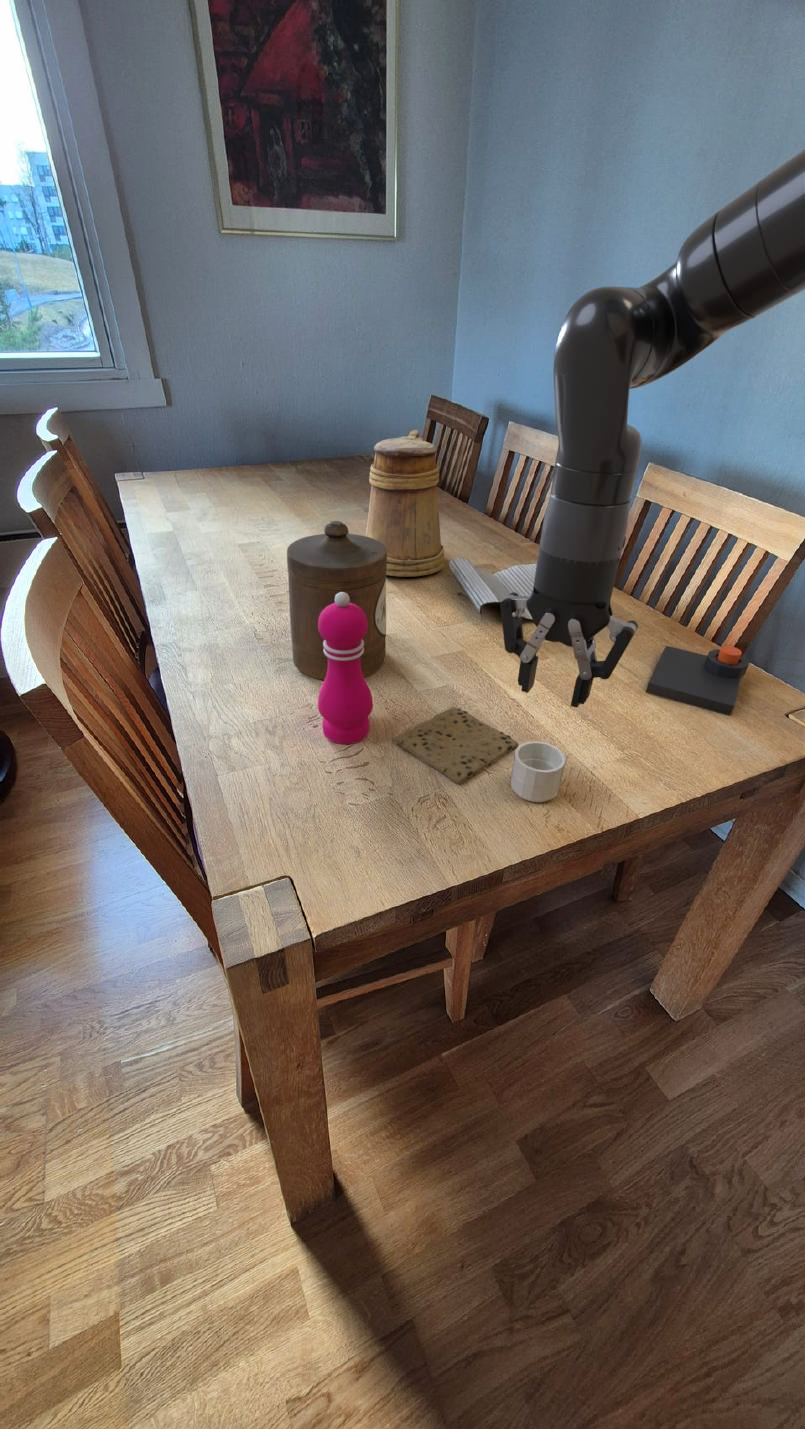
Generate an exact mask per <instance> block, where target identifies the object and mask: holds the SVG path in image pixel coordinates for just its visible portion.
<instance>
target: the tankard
mask: <svg viewBox="0 0 805 1429" xmlns="http://www.w3.org/2000/svg"><path fill="white" fill-rule="evenodd" d="M437 450H438V449H437V447H436V446H435V445H434V444H433V443H431V442H428V441H427V439H425V438H424V437H420V431H419V430H418V429H412V430H410V432H409V434H408V435H407V436H403V435H402V436H399V437H393V438H386V439H383V440H380V441H378V442H377V443H376V444H375V445H374V447H373V451H374V452H375V453H374V460H373V463H372V464H371V465H370V471H369V478H368V483H369V484H370V485H371V486H370V496H369V505H368V514H367V521H366V522H367V523H366V530H365V536H366V537H370V538H373V539H375V540H377V541H379V542H381V543H382V544H383V545H384V546H385V547H386V549H387V570H386V576H391V577H399V578H400V577H401V578H402V577H403V578H405V577H406V578H409V577H410V578H411V577H422V576H428V575H432V574H435V573H437V572H440V571H441V570H443V569H444V568H445V554H444V553H445V546H444V545H442V539H441V526H440V524H441V523H440V508H439V506H440V505H439V492H438V484H439V483H440V470H439V466H438V465H437V462H436V461H437V460H436V453H437Z"/></svg>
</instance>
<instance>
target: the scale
mask: <svg viewBox="0 0 805 1429" xmlns="http://www.w3.org/2000/svg"><path fill="white" fill-rule="evenodd" d="M720 649H721V648H720ZM720 649H719V648H716V649H715V648H714V649H713V650H710V651H708V653H707V654H702V653H698V652H694V651H691V650H687V649H683V648H679V647H674V646H670V645H665V646H664V648H663V650H662V652H661V655H660V656H659V659H658V661H657V663H656V665H655V667H654V670H653V672H652V674H651V676H650V678H649V680H648V683H647V685H646V689H645V693H647V694H650V695H654V696H657V697H662V698H665V699H669V700H672V701H676V702H680V703H682V704H683V703H684V704H686V705H690V706H694V707H697V708H702V709H706V710H709V711H712V712H716V713H720V714H723V715H727V716H732V713H733V710H734V708H735V704H736V700H737V697H738V691H739V688H740V683H741V679H742V677H744V676H746V673H747V671H748V669H749V665H750V660H749V659H748V658H747V657H746V656H745V655H743V654H741V657H740V659H739V662H738V664H728V663H724V662H722V661H720V660H718V655H719V652H720Z"/></svg>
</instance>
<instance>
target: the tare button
mask: <svg viewBox="0 0 805 1429" xmlns="http://www.w3.org/2000/svg"><path fill="white" fill-rule="evenodd" d="M741 655H743V652H742V650H741V649H739V648H738V647H735V646H732V645H731V646H730V645H723V646H721V647H720V652H719V655H718V660H720V661H722V662H724V663H728V664H738V662H739V659H740V657H741Z"/></svg>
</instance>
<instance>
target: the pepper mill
mask: <svg viewBox="0 0 805 1429" xmlns="http://www.w3.org/2000/svg"><path fill="white" fill-rule="evenodd" d="M349 602H350V598H349V596H348V594H347V593H345V592H339V593H338V594H337V595H336V596H335V603H333V604H331V605H328V606H327V607H326V608H325V609H324V610H323V611H322V612H321V614H320V616H319V620H318V629H319V632H320V635H321V636H322V638H323V639H325V640H324V642H323V646H324V650H323V651H324V654H325V655H326V656H327V657H328V670H327V674H326V678H325V680H323V682H322V685H321V687H320V690H319V694H318V698H317V708H318V713H319V714H320V716H321V717H322V718H323V719H322V732H323V735H324V737H325V738H327V739H328V740H329V741H331V742H333V743H336V744H340V745H348V744H354V743H355V744H356V743H357V742H360V741H362V740H364V739H365V738H366V737H368V735H369V733H370V717H369V716H370V715H371V713H372V712H373V708H374V702H373V700H374V699H373V694H372V691H371V688H370V687H369V685H368V683H367V681H366V679H365V677H363V674H362V671H361V663H360V657H361V655H362V654H363V652H364V647H363V646H364V641H363V640H362V639H363V638H364V636H365V635H366V633H367V629H368V622H367V617H366V615H365V613H364V611H363V610H362V609H361V608H360V607H359V606H357V605H355V604H353V603H349Z"/></svg>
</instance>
